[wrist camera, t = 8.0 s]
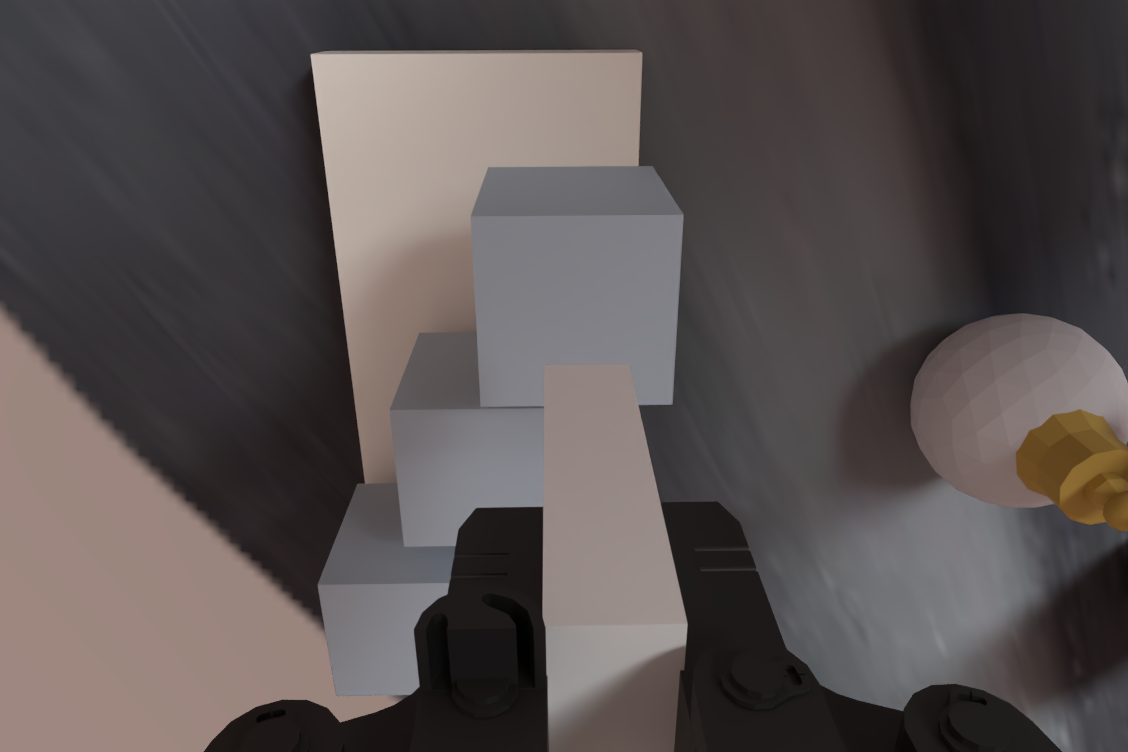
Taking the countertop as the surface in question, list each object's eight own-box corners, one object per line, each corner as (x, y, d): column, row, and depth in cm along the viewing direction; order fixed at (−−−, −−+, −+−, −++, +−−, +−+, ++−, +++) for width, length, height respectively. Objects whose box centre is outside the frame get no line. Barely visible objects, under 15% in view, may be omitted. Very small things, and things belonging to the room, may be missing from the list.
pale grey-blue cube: (652, 166, 24) (684, 214, 19) (645, 319, 27) (672, 404, 21) (488, 167, 24) (470, 216, 19) (494, 321, 27) (480, 406, 21)
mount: (636, 49, 29) (661, 62, 22) (619, 586, 39) (633, 701, 32) (325, 50, 28) (262, 65, 22) (390, 590, 39) (358, 706, 32)
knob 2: (555, 331, 30) (556, 408, 24) (555, 448, 32) (557, 544, 26) (419, 332, 30) (389, 410, 24) (429, 450, 32) (404, 546, 26)
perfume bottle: (847, 385, 34) (986, 563, 24) (1033, 209, 31) (1291, 320, 20) (959, 478, 36) (1134, 680, 26) (1143, 322, 33) (1431, 476, 23)
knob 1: (481, 482, 32) (468, 582, 27) (487, 581, 35) (475, 693, 29) (357, 483, 32) (317, 585, 27) (370, 582, 34) (336, 696, 29)
